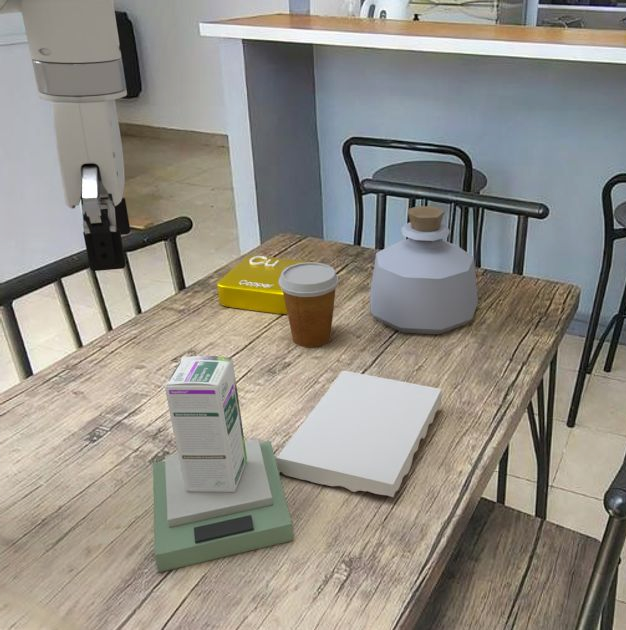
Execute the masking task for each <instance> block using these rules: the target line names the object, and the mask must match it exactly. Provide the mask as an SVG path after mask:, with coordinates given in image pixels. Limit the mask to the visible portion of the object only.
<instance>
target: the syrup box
mask: <svg viewBox="0 0 626 630" xmlns="http://www.w3.org/2000/svg"><path fill="white" fill-rule="evenodd" d="M164 390H165V395H166V400H167V406H168V410H169V416H170V420H171V426H172V431H173V436H174V441H175V446H176V450H177V454H178V456H179V461H180V466H181V471H182V476H183V481H184V486H185V490H186V491H194V492H235V491H236V487H237V485H238V482H239V480H240V478H241V475H242V472H243V469H244V466H245V464H246V461H247V455H246V448H245V441H246V440H245V436H244V435H245V434H244V428H243V420H242V413H241V407H240V399H239V393H238V392H239V391H238V385H237V380H236V372H235V365H234V359H233V358H232V357H230V356H229V357H228V356H218V355H194V356H182V357H181V359H180V361H179V363H178V364H177V366H176V367H175V368H174V370H173V371H172V372H171V375H170V376H169V378H168V379H167V382H166V383H165V385H164Z"/></svg>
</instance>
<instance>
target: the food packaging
mask: <svg viewBox="0 0 626 630" xmlns="http://www.w3.org/2000/svg"><path fill="white" fill-rule="evenodd" d="M442 391H443V390H442V388H439V387H434V386H428V385H423V384H417V383H412V382H408V381H407V382H406V381H401V380H396V379H390V378H385V377H379V376H375V375H369V374H364V373H358V372H353V371H349V370H341V371H340V373H339V375H338V376H337V377H336V379H335V380H334V381H333V382H332V384H331V385H330V387H328V389H327V390H326V392H325V393H324V394H323V396H322V397H321V399H320V400H319V401H318V402H317V403H316V405H315V406H314V407H313V409H311V412H310V413H309V414H308V416H307V417H306V418H305V420H303V422H302V424H300V426H299V428H298V429H297V430H296V431H295V432H294V434H293V435H292V436H291V438H290V439H289V440H288V442H287V443H286V444H285V446H284V447H283V448H282V450H281V451H280V453H279V454H278V455H277V456H276V464H277V467H278V471H279V472H281V474H283V475H284V476H286V477H290V478H294V479H298V480H301V481H307V482H311V483H315V484H317V485H323V486H324V485H325V486H330V487H341V488H345V489H347V490H349V491H350V492H353V493H356V492H358V491H361V492H363V493H365V492H369V493H372V494H375V495H380V496H388V497H391V498H394V497H395V494H396V492H398V491H399V489H400V487H401V485H402V483H403V479H404V477H405V476H406V475H408V474H409V472H410V470H411V467H412V463H413V458H414V455H415V453H416V452H417V451H418V449H419V445H420V441H421V440H425V438H426V436H427V433H428V429H429V425H430V424H433V423H434V419H435V415H436V413H437V411H439V410H440V407H441V406H442V394H443V393H442Z"/></svg>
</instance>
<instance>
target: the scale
mask: <svg viewBox="0 0 626 630" xmlns="http://www.w3.org/2000/svg"><path fill="white" fill-rule="evenodd" d="M244 441H245V448H246V455H247V461H246V464H245V466H244V469H243V472H242V475H241V478H240V480H239V482H238V485H237V487H236V491H235V492H194V491H186V490H185V486H184V481H183V476H182V471H181V466H180V461H179V456H178V453H173V454H169V455H165V456H164V460H161V461H158V462H153V463H152V483H153V484H152V487H153V488H152V489H153V493H152V494H153V546H154V547H153V550H154V551H153V552H154V559H155V560H154V561H155V564H156V568H157V573H162V572H166V571H170V570H175V569H178V568H182V567H187V566H192V565H195V564H196V565H197V564H199V563H200V564H201V563H204V562H209V561H212V560H217V559H222V558H225V557H229V556H234V555H237V554H242V553H246V552H250V551H255V550H259V549H263V548H267V547H271V546H275V545H281V544H284V543H288V542H293V541H294V530H293V522H292V519H291V515H290V511H289V507H288V503H287V498H286V495H285V492H284V487H283V483H282V480H281V475H280V471H279V470H278V464H277V459H276V457H275V453H274V449H273V445H272V441H271V440H267V441H263V442H260V439H259V438H254V439H249V440H244Z"/></svg>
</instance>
